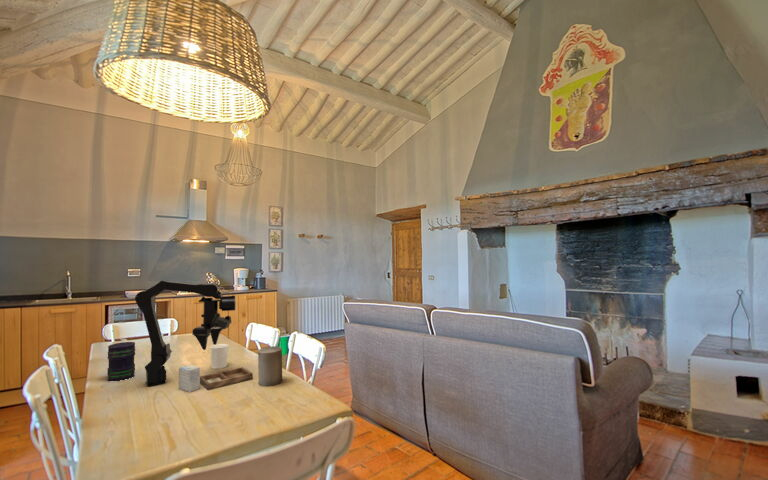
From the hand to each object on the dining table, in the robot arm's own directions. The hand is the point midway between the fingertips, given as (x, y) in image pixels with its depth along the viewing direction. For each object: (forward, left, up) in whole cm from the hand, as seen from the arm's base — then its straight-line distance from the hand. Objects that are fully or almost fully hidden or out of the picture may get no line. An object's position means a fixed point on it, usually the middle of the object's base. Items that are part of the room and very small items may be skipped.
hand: (209, 347), depth 156 cm
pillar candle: (+17, -25, -13) cm, 33 cm away
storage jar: (-29, +27, -13) cm, 42 cm away
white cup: (+8, +13, -13) cm, 20 cm away
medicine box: (-10, -9, -13) cm, 19 cm away
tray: (+4, -10, -13) cm, 17 cm away
